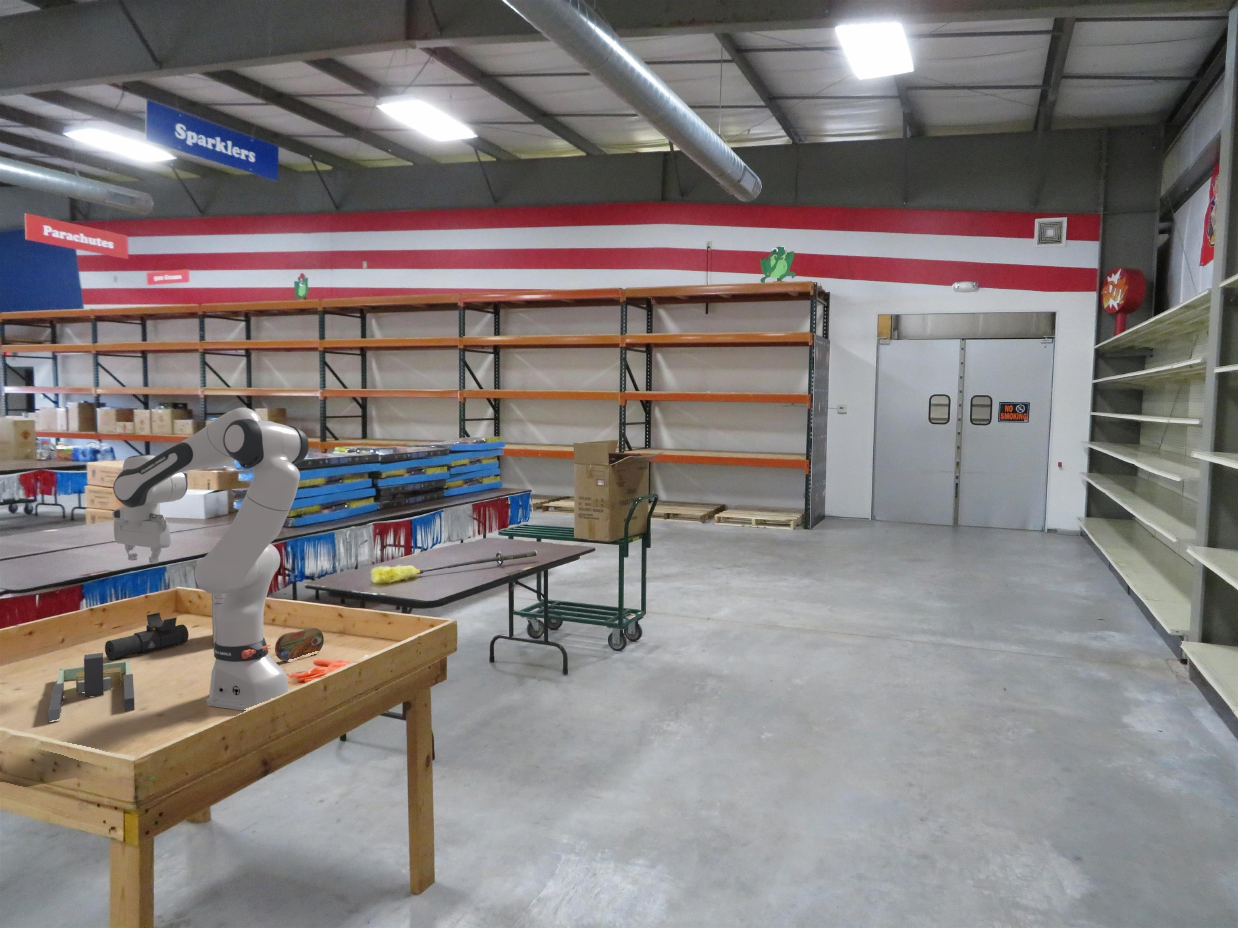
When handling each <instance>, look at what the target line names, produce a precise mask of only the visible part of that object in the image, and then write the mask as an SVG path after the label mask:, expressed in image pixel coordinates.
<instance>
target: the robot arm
mask: <svg viewBox="0 0 1238 928" xmlns="http://www.w3.org/2000/svg"><path fill="white" fill-rule="evenodd" d="M309 443H310V442H309V438H308V436H307V434H306V433H305V432H304V431H303V430H301V429H299V428H298V427H295V426H292V425H289V424H288V425H286V424H282V423H278V422H275V421H271V420H262V417H261V416H260V415H259V414H258V413H257V412H256V411H255V410H253V409H251V408H248V407H237V408H234V409H233V410H230V411H228V412H226V413H224V414H222V415H220V416H219V417H218V418H216V419H214V420H213V421H212V422H210V423H209V424H208V425H206V426H205V427H203V428H202V429H199V431H197V432H196V433H194V434H193V435H191V436H189V437H187V438H185V439H183V440H182V441H181V442H179V443H177V444H175V445H173V446H172V447H169V448H168V449H166V450H165V451H162V452H161V453H159V454H157V455H153V454H138V455H130V456H129V457H127V458H125V459H124V461H123V464H122V470H121V472H120V473H119V474H118V475H117V477H116V478H115V480H114V482H113V486H112V487H113V488H112V490H113V493H114V497H115V498H116V499H117V500H118V501H119V502H120V503H121V504H122V506H121V507H119V508H117V509H115V510H113V511H111V512H112V513H111V514H112V518H113V519H114V521H113V536H114V540H115V542H116V544H119V545H124V549H125V552H126V553H127V559H128V561H132V562H133V561H137V560H138V553H136V549H135V548H136V547H142V548H143V547H144V548H150V552H151V554H150V556H149V557H148V563H149V564H152V565H154V564H155V565H156V564H158V563H159V557H160V554H161V552H162V549H165V548H169V547H170V545H171V544H172V542H171V540H172V539H171V531H170V525H169V523H168V521H167V519H166V518H165V517H164V515H163V514H161V507H160V505H161V504H162V503H163V504H164V503H171V502H172V503H173V502H175V501H179V500H181V499H183V498H184V497H185V495H186V494H187V490H188V483H189V482H188V478H187V476H186V474H185V473H184V472H188V471H193V470H201V469H210V468H216V467H217V468H218V467H221V466H224V465H226V464H229V463H231V462H233V461H236V462H238V464H239V465H240V466H241V468H243V469H245V470H246V469H248V470H249V469H252V471H253V477H252V481H251V482H250V485H249V487H248V489H247V492H246V493H245V496H244V498H243V500H242V501H241V502H242V503H241V504H240V506H239V509H238V511H237V513H236V516H235V517H234V519H233V521H232V523H230V525H229V526H228V528H227V530H226V531H225V533H224V534H223V535H222V536H221V537H220V539H219V540H218V541H217V543H216V544H215V545H214V547H213V548H212V549H211V550H210V551H209V552H208V553H207V554H206V555H205V556H204V557H202V558H201V559H200V560H199V561H198V562H197V564H196V566H195V569H194V578H195V582H196V584H197V585H198V587H199V588H200V589H201V590H202V591H204V592H205V593H208V594H211V595H212V594H221V593H226V596H225V598H224V600H223V602H222V604H221V606H220V607H219V608H218V610H217V613H216V642H215V643H214V646H213V657H214V658H215V661H214V665H213V667H212V669H211V674H210V675H211V676H210V684H209V694H208V695H209V696H208V698H207V699H206V701H205V705H206V706H209V707H217V708H223V709H230V710H236V711H242V710H244V709H246V708H249V707H252V706H254V705H257V704H259V703H262V702H265V701H268V700H270V699H271V698H275V697H277V696H280V695H282V694H284V693H286V692H288V691H289V690H294V689H293V688H290V687H289V681H288V677H287V673H286V672H285V669H284V667H281V666H280V665H279V664H278V663H277V662H276V661H275V660H274V659H273V658H272V656H270V654H269V650H270V649H271V644H267V641H266V639H265V637H264V612H265V604H266V600H267V596H268V592H269V590H270V586H271V584H272V580H273V578H274V576H275V574H276V573H277V571H278V570H279V568H280V565H281V556H280V552H279V550H278V548H276V547H275V546H274V545H273V544H272V542H274V540H276V538H278V536H279V534H280V533H281V531H282V529H283V526H284V524H285V522H286V520H287V517H288V516H289V513H290V511H291V508H292V506H293V503H294V501H295V499H296V495H297V492H298V488H299V483H300V479H301V474H300V470H299V469H298V467H297V466H296V465H297V464H300V463H302V462H303V461H304V460H305V458H306V457H307V454H308V453H309V447H310V444H309Z"/></svg>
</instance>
